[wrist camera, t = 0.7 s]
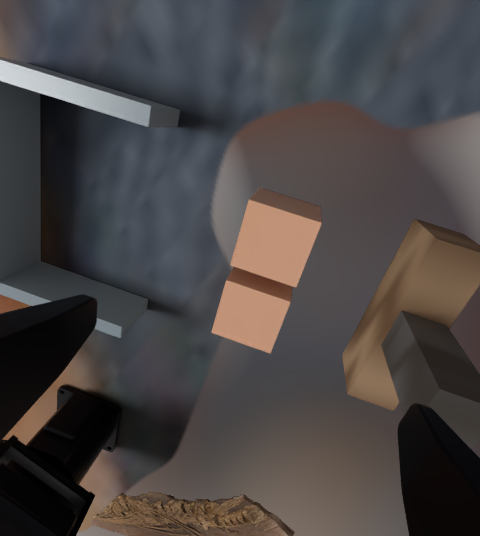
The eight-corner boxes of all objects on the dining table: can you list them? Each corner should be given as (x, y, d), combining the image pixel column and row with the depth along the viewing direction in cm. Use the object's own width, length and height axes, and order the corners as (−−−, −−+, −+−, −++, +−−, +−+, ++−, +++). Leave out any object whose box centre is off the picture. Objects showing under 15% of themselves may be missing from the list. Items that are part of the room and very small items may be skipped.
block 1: (299, 261, 22) (296, 287, 19) (243, 243, 23) (230, 265, 19) (320, 206, 21) (321, 223, 17) (260, 187, 21) (249, 199, 17)
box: (146, 309, 26) (120, 338, 23) (30, 267, 27) (-14, 289, 23) (180, 109, 20) (151, 106, 16) (26, 62, 21) (-35, 48, 17)
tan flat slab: (282, 493, 32) (281, 504, 31) (301, 560, 36) (301, 572, 35) (71, 482, 39) (65, 491, 38) (105, 539, 43) (101, 549, 42)
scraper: (381, 368, 24) (422, 511, 15) (342, 355, 24) (360, 488, 15) (463, 234, 19) (593, 325, 10) (414, 218, 20) (500, 295, 11)
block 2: (276, 320, 24) (270, 353, 21) (226, 302, 25) (211, 332, 21) (294, 274, 23) (290, 302, 19) (239, 256, 23) (226, 280, 19)
